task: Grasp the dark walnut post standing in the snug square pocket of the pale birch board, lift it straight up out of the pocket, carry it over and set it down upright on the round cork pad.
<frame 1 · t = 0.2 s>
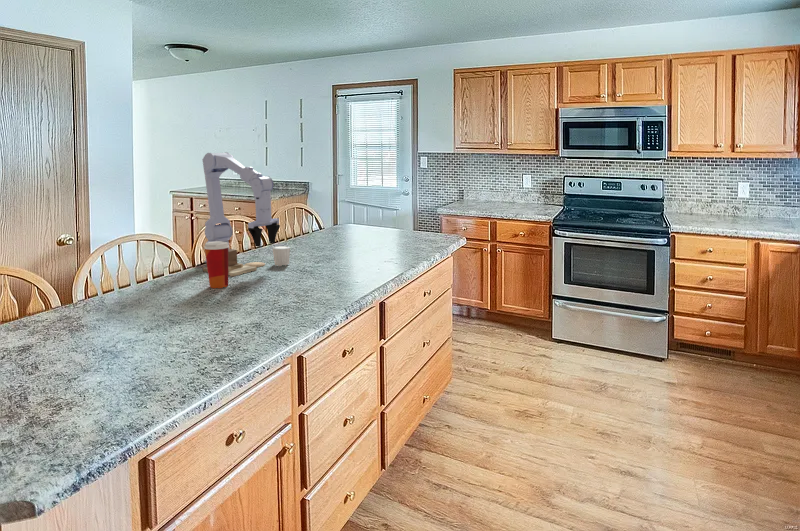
hand: (265, 244, 217), 10 cm above the table, tool pointing down, fingers open, 7 cm apart
cork pad: (254, 265, 228), on the table
coffee cup: (219, 286, 195), on the table
walnut post: (229, 260, 217), in the pocket board
pocket board: (230, 270, 218), on the table
white tapered cup: (281, 264, 230), on the table
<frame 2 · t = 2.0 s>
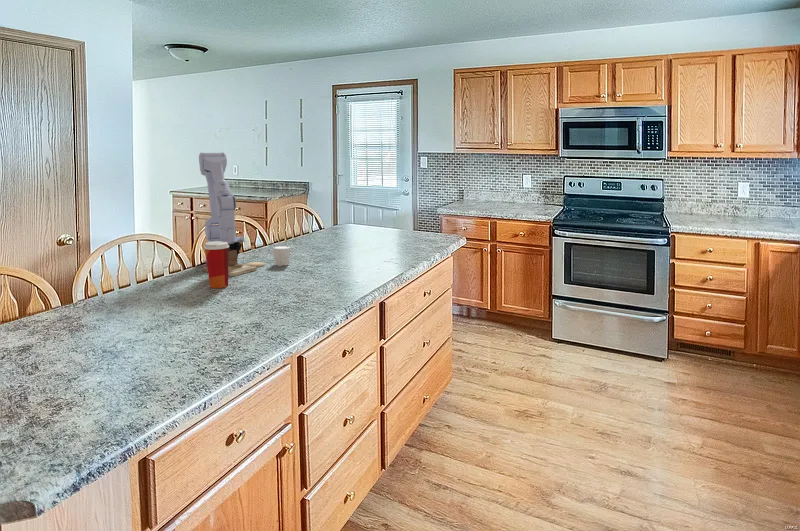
hand: (229, 263, 217), 3 cm above the table, tool pointing down, fingers closed on walnut post, 4 cm apart
walnut post: (229, 260, 217), in the pocket board, touching gripper
everything else where it was.
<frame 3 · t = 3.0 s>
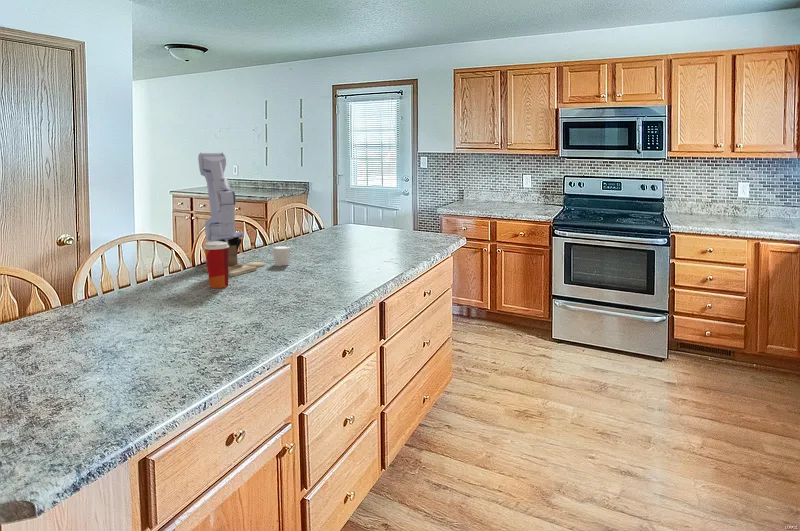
hand: (229, 258, 217), 5 cm above the table, tool pointing down, fingers closed on walnut post, 4 cm apart
walnut post: (229, 255, 217), point 6 cm above the table, touching gripper
everything else where it was.
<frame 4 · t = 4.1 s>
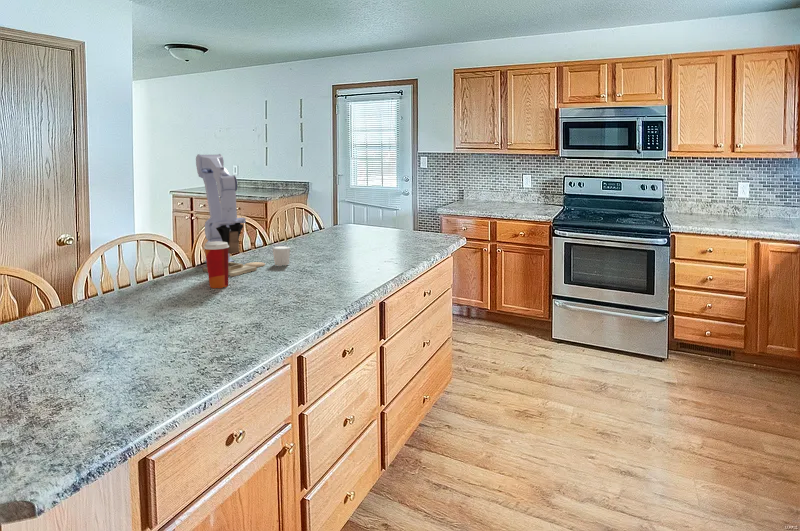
hand: (230, 244, 217), 10 cm above the table, tool pointing down, fingers closed on walnut post, 4 cm apart
walnut post: (230, 242, 217), point 11 cm above the table, touching gripper
everything else where it was.
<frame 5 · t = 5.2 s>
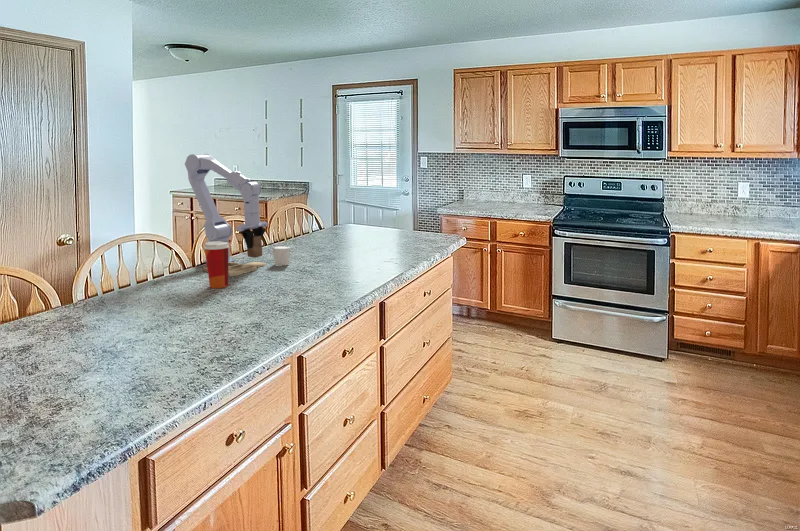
hand: (253, 247, 226), 7 cm above the table, tool pointing down, fingers closed on walnut post, 4 cm apart
walnut post: (254, 246, 226), point 8 cm above the table, touching gripper
everything else where it was.
when the fingers open (4 cm above the table, at t = 6.1 s): walnut post stays where it is, resting on cork pad.
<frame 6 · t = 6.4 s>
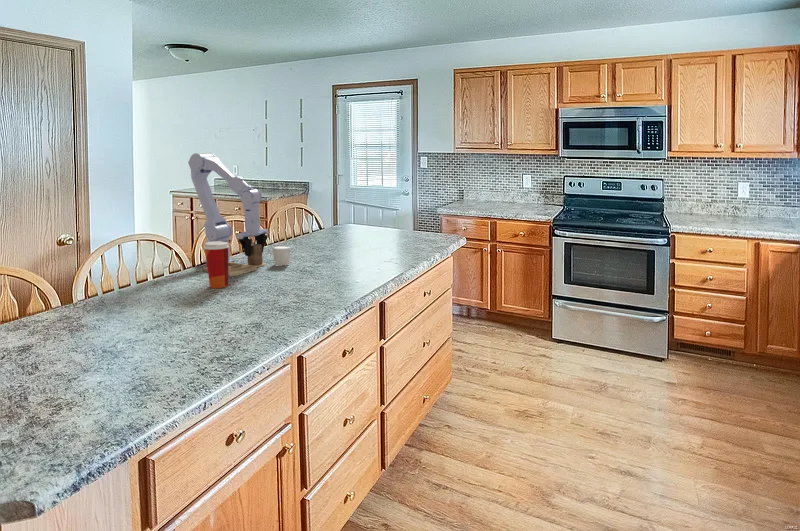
hand: (254, 254, 227), 4 cm above the table, tool pointing down, fingers open, 6 cm apart
walnut post: (254, 254, 227), on the cork pad
everything else where it was.
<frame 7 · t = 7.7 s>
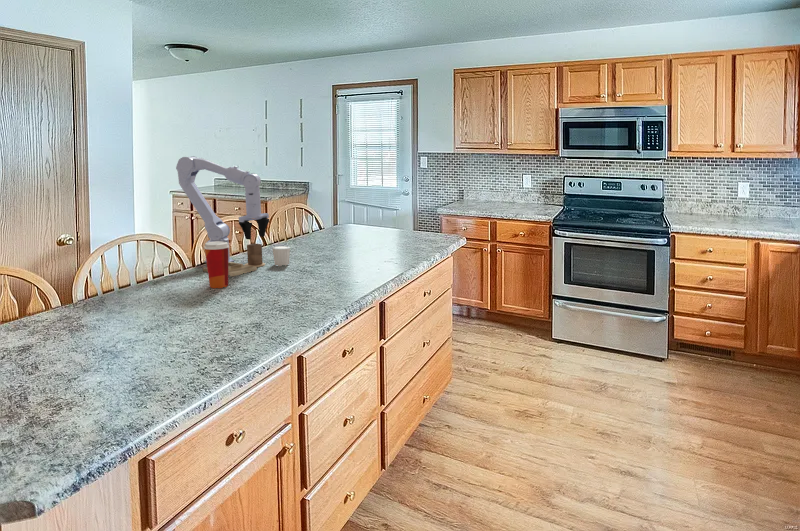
hand: (255, 237, 231), 10 cm above the table, tool pointing down, fingers open, 7 cm apart
nothing on the table moved.
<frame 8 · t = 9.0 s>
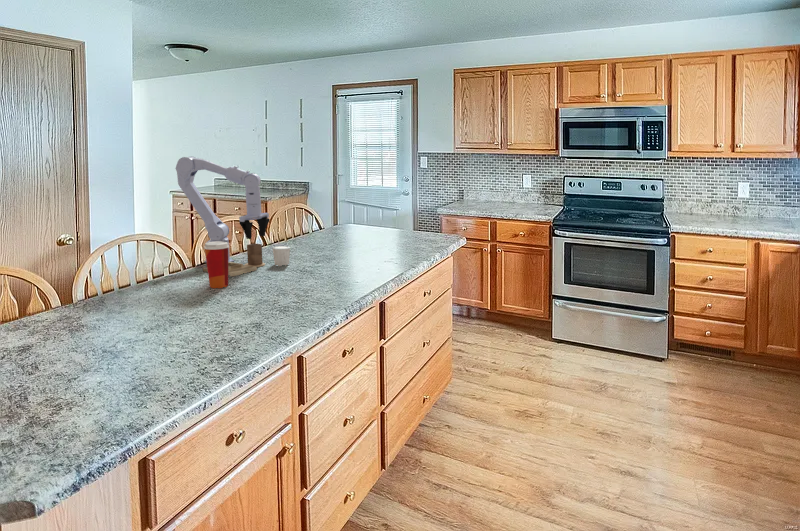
hand: (255, 237, 232), 10 cm above the table, tool pointing down, fingers open, 7 cm apart
nothing on the table moved.
at the end: walnut post 0.3 cm from the cork pad (horizontally); walnut post tilted 0°; walnut post resting on cork pad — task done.
